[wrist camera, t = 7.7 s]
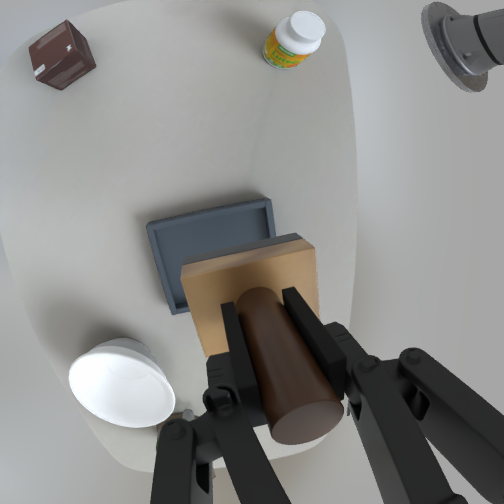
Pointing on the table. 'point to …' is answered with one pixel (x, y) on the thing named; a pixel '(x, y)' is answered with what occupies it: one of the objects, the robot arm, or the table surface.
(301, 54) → the supplement bottle
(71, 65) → the box
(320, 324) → the robot arm
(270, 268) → the peg on wooden base
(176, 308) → the tray
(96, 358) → the bowl
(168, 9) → the table surface
